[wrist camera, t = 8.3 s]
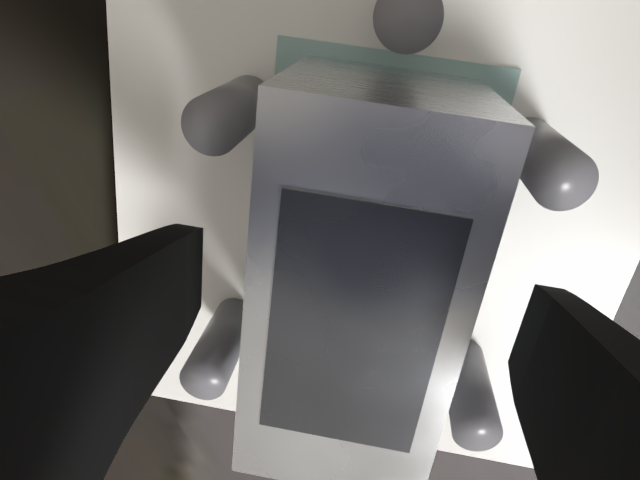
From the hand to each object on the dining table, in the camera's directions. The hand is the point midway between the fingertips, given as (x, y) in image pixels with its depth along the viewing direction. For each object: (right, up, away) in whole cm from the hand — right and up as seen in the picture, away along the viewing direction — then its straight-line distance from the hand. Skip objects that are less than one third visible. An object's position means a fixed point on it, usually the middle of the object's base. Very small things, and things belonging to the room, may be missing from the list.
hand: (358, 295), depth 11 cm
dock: (0, +2, +4) cm, 4 cm away
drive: (0, +2, +2) cm, 3 cm away
